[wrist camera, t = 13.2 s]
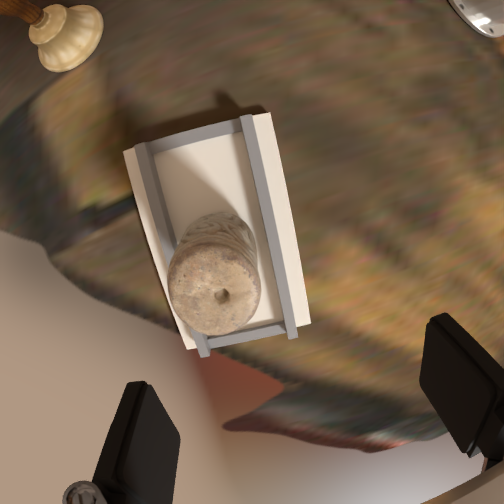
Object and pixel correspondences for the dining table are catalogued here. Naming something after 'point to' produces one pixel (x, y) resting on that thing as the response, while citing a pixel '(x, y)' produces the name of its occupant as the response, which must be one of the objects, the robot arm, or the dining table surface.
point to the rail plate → (224, 200)
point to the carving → (215, 275)
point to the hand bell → (59, 31)
